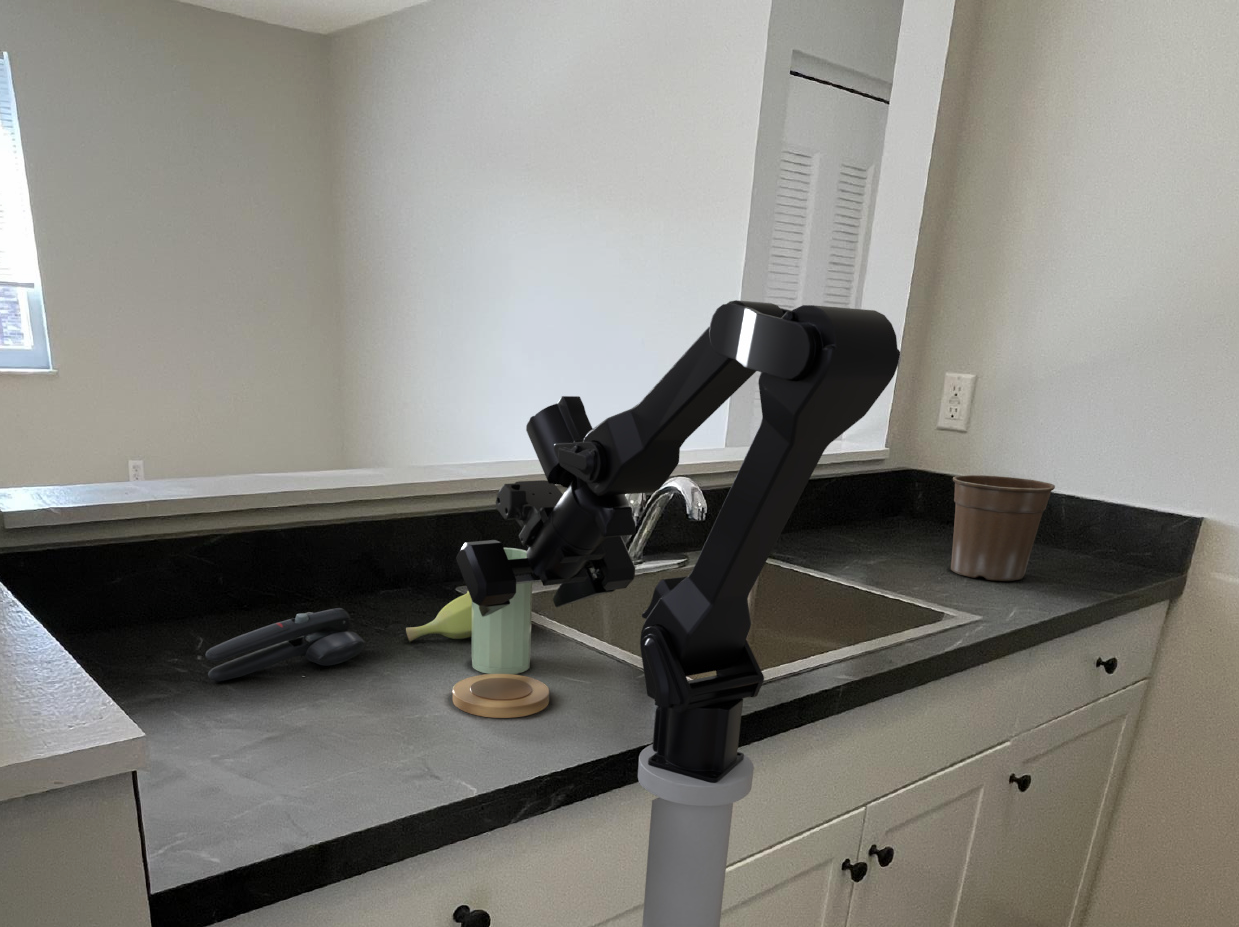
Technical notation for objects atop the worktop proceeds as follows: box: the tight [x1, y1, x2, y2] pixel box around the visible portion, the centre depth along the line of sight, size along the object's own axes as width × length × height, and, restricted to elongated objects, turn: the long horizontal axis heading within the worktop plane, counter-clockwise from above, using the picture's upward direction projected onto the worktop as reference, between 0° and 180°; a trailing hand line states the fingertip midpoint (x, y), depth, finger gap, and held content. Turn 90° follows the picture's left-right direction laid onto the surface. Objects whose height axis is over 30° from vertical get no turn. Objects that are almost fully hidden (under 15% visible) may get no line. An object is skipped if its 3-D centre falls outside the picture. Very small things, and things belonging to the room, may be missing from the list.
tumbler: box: [471, 547, 533, 675], centre depth 110 cm, size 7×7×13 cm
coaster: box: [452, 673, 550, 719], centre depth 101 cm, size 10×10×1 cm
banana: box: [405, 590, 472, 642], centre depth 126 cm, size 14×6×20 cm
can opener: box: [205, 607, 367, 682], centre depth 107 cm, size 18×7×6 cm, turn 135°
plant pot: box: [950, 474, 1056, 582], centre depth 168 cm, size 16×16×16 cm
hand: (519, 607), depth 106 cm, fingers open, 9 cm apart
